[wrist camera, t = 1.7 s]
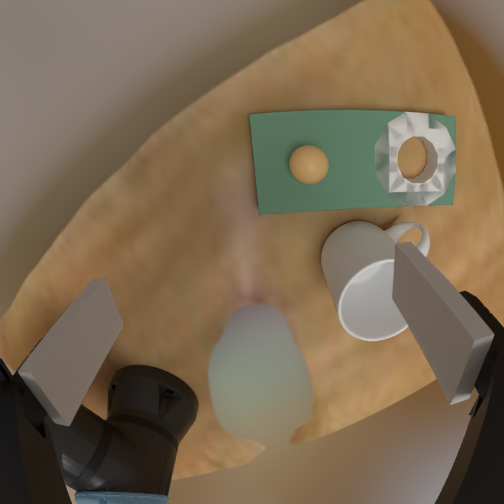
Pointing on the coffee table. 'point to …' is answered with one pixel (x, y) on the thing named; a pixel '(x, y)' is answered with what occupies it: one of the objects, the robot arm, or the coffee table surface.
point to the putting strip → (352, 159)
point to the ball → (308, 164)
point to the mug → (366, 277)
